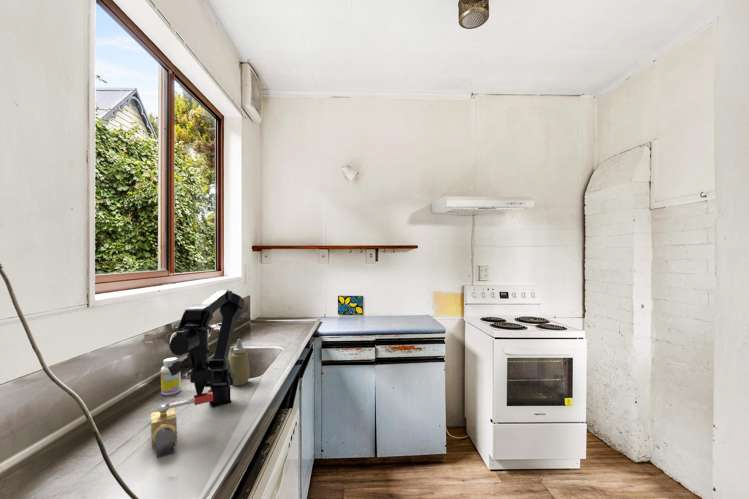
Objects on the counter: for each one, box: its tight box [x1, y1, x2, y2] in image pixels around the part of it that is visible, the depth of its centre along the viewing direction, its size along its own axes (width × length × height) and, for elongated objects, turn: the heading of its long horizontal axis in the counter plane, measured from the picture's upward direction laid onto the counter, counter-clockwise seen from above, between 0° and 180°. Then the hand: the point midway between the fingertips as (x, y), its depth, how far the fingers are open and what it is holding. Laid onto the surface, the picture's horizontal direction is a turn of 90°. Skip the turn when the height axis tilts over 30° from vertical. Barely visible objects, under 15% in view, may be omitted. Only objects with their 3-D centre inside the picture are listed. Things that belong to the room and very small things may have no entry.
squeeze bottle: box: [229, 338, 251, 386], centre depth 142 cm, size 8×8×18 cm
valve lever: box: [156, 391, 213, 412], centre depth 103 cm, size 14×3×2 cm, turn 124°
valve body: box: [150, 407, 178, 459], centre depth 100 cm, size 6×22×8 cm, turn 34°
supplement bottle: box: [160, 357, 182, 396], centre depth 134 cm, size 7×7×13 cm
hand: (199, 395), depth 110 cm, fingers closed
